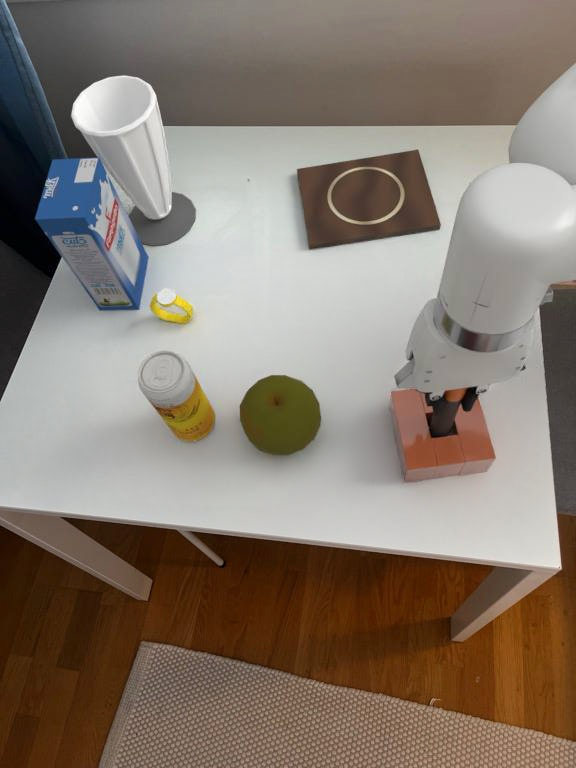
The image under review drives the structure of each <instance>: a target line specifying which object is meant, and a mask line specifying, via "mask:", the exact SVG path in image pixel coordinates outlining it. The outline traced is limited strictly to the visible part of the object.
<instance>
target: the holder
mask: <svg viewBox="0 0 576 768" xmlns="http://www.w3.org/2000/svg"><path fill="white" fill-rule="evenodd" d="M479 397H480V396H478V399H477V400H476V401H475V403H474V405H473V407H472V409H471V411H469V412H465V411H463V408H462V405H461V404H460V406H459V409H458V412H457V414H456V417H455V419H454V422H453V424H452V427H451V429H450V432H449V435H448V436H445V437H438V438H432V437H431V436H430V431H429V427H430V424H431V420H432V417H433V414H434V412H433V408H432V406H430V407H427V404H426V400H425V393H421V392H418V391H416V389H415V388H412V389H401V390H394V391H390V396H389V402H388V403H389V404H388V412H389V416H390V421H391V425H392V426H391V427H392V431H393V435H394V441H395V445H396V449H397V454H398V460H399V464H400V469H401V474H402V478H403V483H404V484H405V483H413V482H420V481H428V480H433V479H441V478H449V477H456V476H463V475H464V476H465V475H472V474H479V473H485V472H488V471H489V470H490V468H491V467H492V465H493V463H494V462H495V461H496V459H497V457H496V453H495V449H494V446H493V443H492V439H491V436H490V432H489V429H488V425H487V421H486V419H485V415H484V412H483V409H482V404H481V401H480V398H479Z"/></svg>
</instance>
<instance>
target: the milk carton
mask: <svg viewBox="0 0 576 768" xmlns="http://www.w3.org/2000/svg"><path fill="white" fill-rule="evenodd" d="M128 216H129V215H128V213H127V211H126V208H125V206H124V205H123V203H122V201H121V199H120V196H119V195H118V192H117V190H116V188H115V186H114V184H113V183H112V181H111V179H110V177H109V174H108V171H107V169H106V168H105V166H104V165H103V164H102V162H101V160H100V158H99V157H97V156H95V157H78V158H59V159H58V158H57V159H52V161H51V164H50V167H49V170H48V173H47V177H46V180H45V184H44V186H43V190H42V193H41V197H40V201H39V203H38V207H37V210H36V214H35V217H34V220H35V221H36V223H37V224H38V225H39V227H40V228H41V230H42V231H43V233H44V234H45V235H46V237H47V238H48V240H49V241H50V242H51V244H52V245H53V246H54V248H55V250H56V251H57V252H58V254H59V255H60V257H61V258H62V259H63V261H64V262H65V263H66V265H67V267H68V268H69V269H70V271H71V272H72V273H73V275H74V277H75V278H76V279H77V281H78V283H80V285H81V286H82V288H83V289H84V291H85V292H86V294H87V295H88V296H89V298H90V299H91V300H92V303H94V305H95V306H96V308H97V309H98V311H131V310H132V311H133V310H135V311H136V310H140V308H141V302H142V297H143V291H144V286H145V280H146V274H147V268H148V264H149V254H148V253H147V251H146V249H145V247H144V244H142V243H141V241H140V239H139V237H138V235H137V233H136V231H135V229H134V227H133V225H132V223H131V221H130V219H129V217H128Z"/></svg>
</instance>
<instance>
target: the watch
mask: <svg viewBox="0 0 576 768" xmlns="http://www.w3.org/2000/svg"><path fill="white" fill-rule="evenodd" d="M158 304H159V305H158ZM173 305H174V306H176V307H178V308H180V309H182V310H183V311H184V312H185V313H186V314H180V313H174V312H169V311H167V310H165V309H163V308H169V307H172V306H173ZM160 306H161V307H163V308H161V307H160ZM149 308H150V311H151V312H152V313H153V314H154V315H155V316H156V317H158V318H159V319H161V320H163V321H165V322H172V323H176V324H182V325H184V324H187V323H189V322H190V321H191V319H192V317H193V313H194V308H193V306H192V304H191V303H190V302H189V301H187V300H186V299H185V298H184V297H182V296H179V295H177V292H176V291H175V290H174V289H173V288H170V287H165V288H162V289H160V290H159V291H158V292H157V293H155V294H154V296H153V297H152V298H151V300H150V303H149Z"/></svg>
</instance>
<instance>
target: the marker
mask: <svg viewBox="0 0 576 768" xmlns="http://www.w3.org/2000/svg"><path fill="white" fill-rule="evenodd" d="M466 390H467V388H461V389H454V390H446V391H445V392H444V394H445V397H446V403H445V405H444V408H443V411H442V414H440V416H434V414H433V417H432V420H431V424H430V427H429V431H430V436H431V439H432V438H438V437H445V436H449V432H450V429H451V427H452V424H453V422H454V419H455V417H456V414H457V412H458V409H459V406H460V404H461V401H462V399H463V397H464V395H465V392H466Z"/></svg>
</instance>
